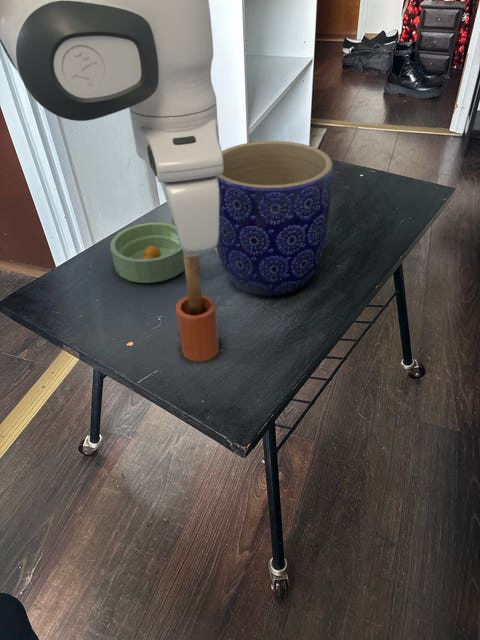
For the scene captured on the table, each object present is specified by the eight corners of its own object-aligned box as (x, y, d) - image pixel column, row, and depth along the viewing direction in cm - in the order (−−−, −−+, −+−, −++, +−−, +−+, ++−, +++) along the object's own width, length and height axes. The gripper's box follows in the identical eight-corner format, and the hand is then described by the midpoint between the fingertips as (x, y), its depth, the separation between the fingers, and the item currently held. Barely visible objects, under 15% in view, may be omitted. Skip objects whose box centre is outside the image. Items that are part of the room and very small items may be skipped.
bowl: (118, 291, 81) (112, 267, 78) (114, 251, 92) (108, 228, 88) (196, 278, 84) (193, 253, 81) (183, 240, 94) (180, 217, 91)
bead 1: (157, 260, 89) (152, 268, 86) (143, 250, 88) (138, 258, 86) (165, 250, 87) (161, 257, 85) (152, 239, 87) (147, 247, 84)
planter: (339, 266, 85) (353, 151, 72) (291, 322, 74) (297, 198, 60) (252, 240, 93) (250, 133, 80) (196, 287, 82) (183, 171, 68)
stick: (192, 335, 67) (180, 212, 55) (190, 327, 68) (178, 205, 56) (204, 333, 67) (195, 210, 55) (202, 325, 68) (193, 203, 56)
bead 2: (139, 273, 85) (140, 268, 82) (139, 257, 85) (141, 252, 82) (156, 275, 85) (158, 270, 83) (156, 259, 86) (158, 253, 83)
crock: (185, 365, 67) (179, 321, 62) (179, 340, 71) (173, 297, 66) (222, 357, 68) (219, 314, 63) (214, 333, 72) (210, 291, 67)
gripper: (137, 109, 57) (154, 213, 66) (158, 173, 42) (176, 298, 51) (188, 103, 58) (198, 207, 67) (227, 164, 43) (234, 288, 52)
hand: (189, 247), depth 59 cm, fingers closed on stick, 2 cm apart
